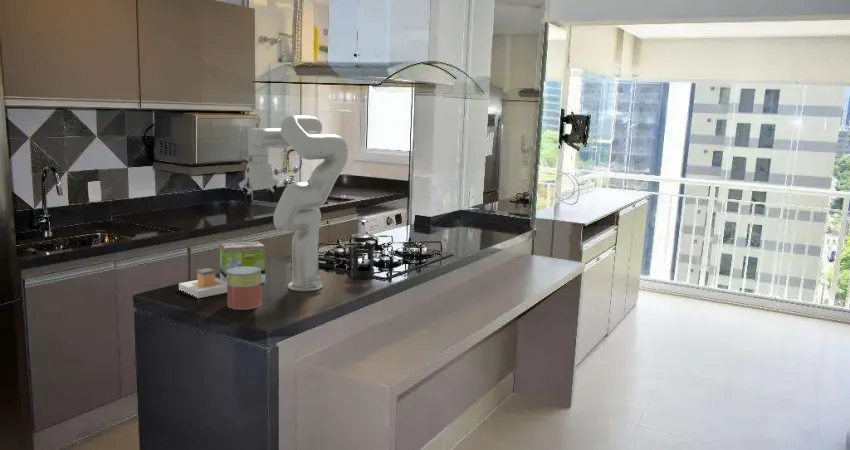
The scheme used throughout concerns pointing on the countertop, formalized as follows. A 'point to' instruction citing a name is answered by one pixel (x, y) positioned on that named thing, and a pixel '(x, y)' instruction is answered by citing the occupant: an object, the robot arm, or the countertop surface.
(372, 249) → the french press
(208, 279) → the plug
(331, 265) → the can opener
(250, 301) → the canned food
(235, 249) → the tea box
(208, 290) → the socket plate
